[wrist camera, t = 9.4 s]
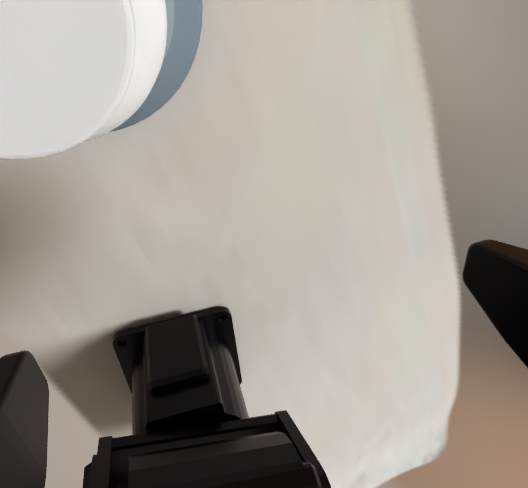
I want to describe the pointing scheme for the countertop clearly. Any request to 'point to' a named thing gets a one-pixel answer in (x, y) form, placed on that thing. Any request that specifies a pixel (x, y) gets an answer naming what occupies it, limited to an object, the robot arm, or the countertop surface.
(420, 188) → the countertop surface
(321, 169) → the countertop surface
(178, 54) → the dish
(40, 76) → the supplement bottle
